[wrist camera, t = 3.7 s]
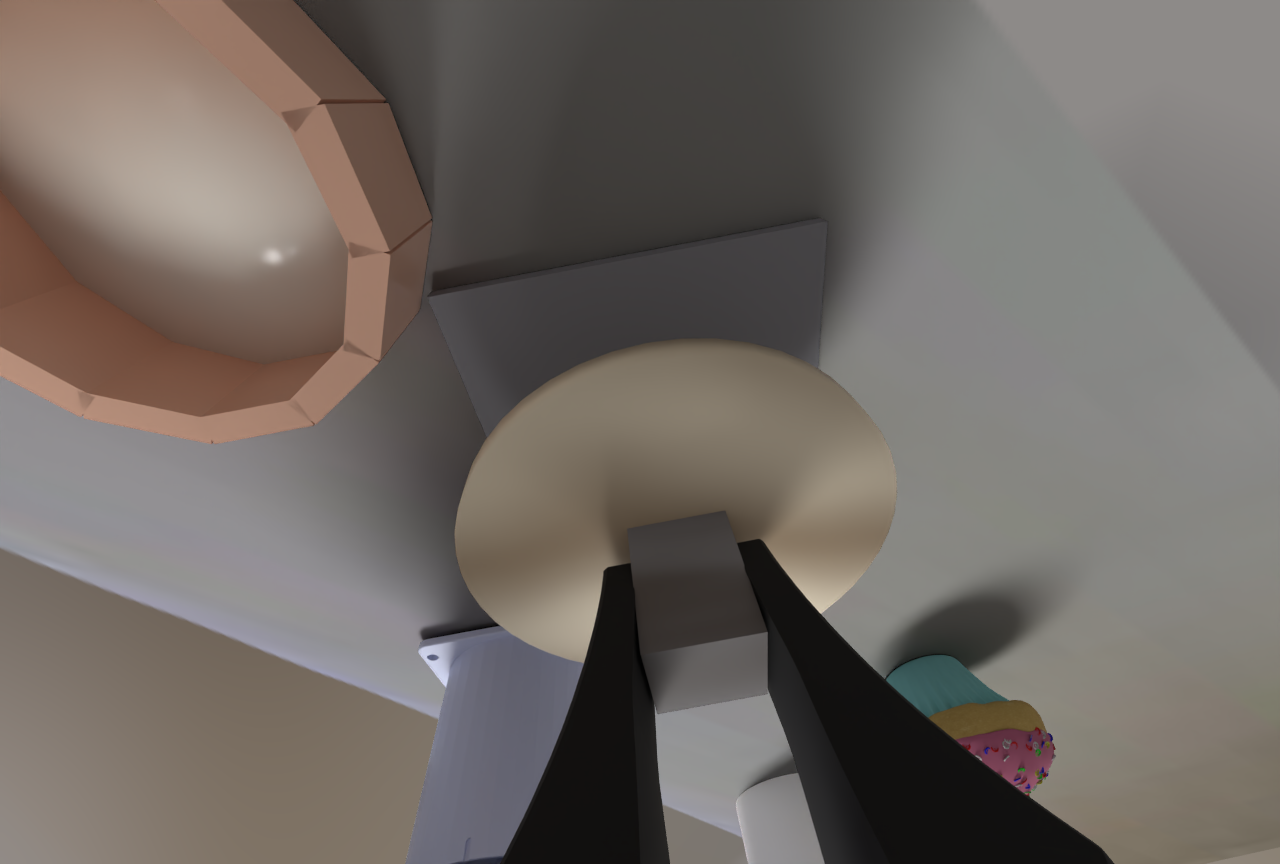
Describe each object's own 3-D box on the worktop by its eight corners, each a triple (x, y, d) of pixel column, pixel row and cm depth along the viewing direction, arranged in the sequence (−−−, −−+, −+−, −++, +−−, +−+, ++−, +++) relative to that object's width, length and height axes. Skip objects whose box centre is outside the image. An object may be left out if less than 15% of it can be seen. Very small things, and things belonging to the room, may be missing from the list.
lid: (856, 611, 16) (926, 742, 13) (533, 670, 16) (520, 815, 13) (915, 292, 10) (1086, 393, 6) (379, 392, 10) (277, 544, 6)
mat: (804, 503, 21) (808, 511, 20) (539, 552, 21) (539, 561, 20) (820, 217, 14) (827, 221, 14) (431, 291, 14) (426, 297, 14)
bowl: (479, 342, 15) (455, 398, 12) (170, 400, 15) (74, 470, 12) (302, -124, 9) (179, -223, 7) (-193, -26, 9) (-532, -83, 7)
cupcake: (925, 713, 34) (1066, 963, 24) (827, 702, 31) (939, 975, 22) (1017, 644, 30) (1235, 913, 20) (912, 625, 27) (1100, 922, 17)
